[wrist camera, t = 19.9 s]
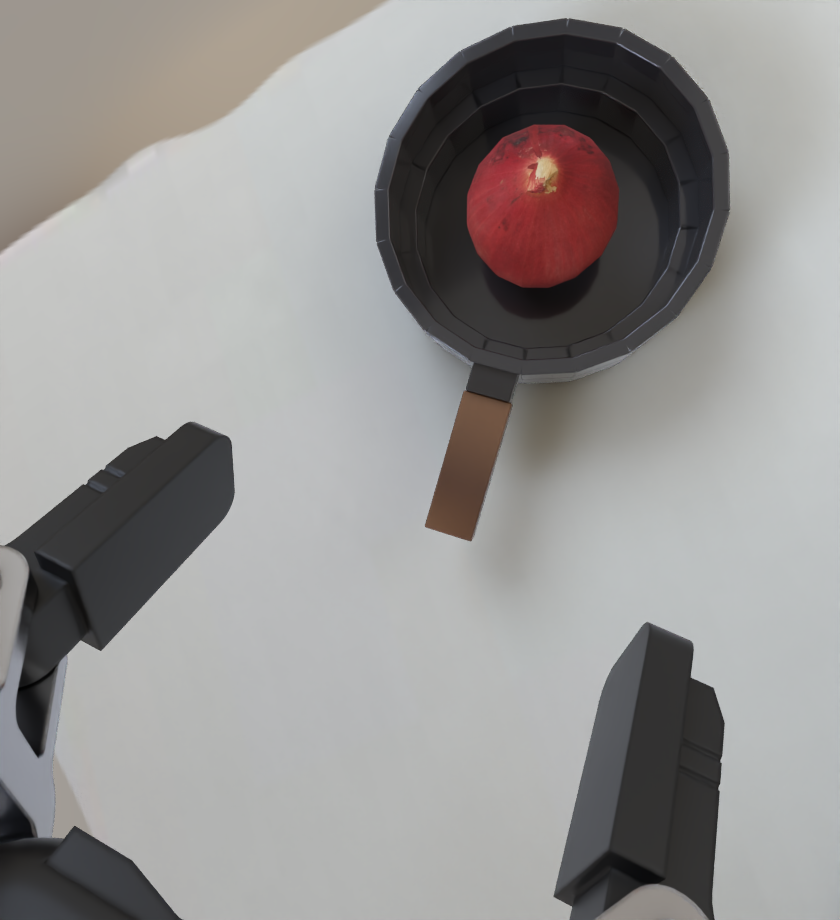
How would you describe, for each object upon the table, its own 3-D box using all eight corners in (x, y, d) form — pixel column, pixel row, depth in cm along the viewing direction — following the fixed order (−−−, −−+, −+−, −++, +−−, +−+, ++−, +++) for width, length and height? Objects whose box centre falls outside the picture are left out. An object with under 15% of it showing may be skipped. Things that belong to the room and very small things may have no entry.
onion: (458, 201, 29) (429, 116, 21) (582, 150, 28) (599, 40, 20) (499, 322, 29) (486, 281, 21) (625, 275, 28) (660, 213, 20)
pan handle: (475, 364, 27) (471, 359, 26) (521, 377, 27) (520, 373, 25) (430, 522, 28) (422, 528, 26) (474, 536, 28) (470, 543, 26)
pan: (738, 119, 28) (779, 54, 23) (644, 417, 29) (665, 414, 24) (444, 62, 30) (426, -8, 25) (367, 342, 31) (337, 325, 26)
